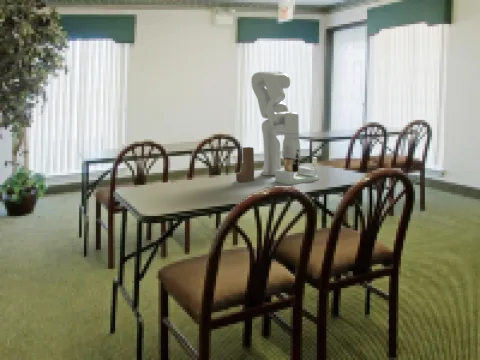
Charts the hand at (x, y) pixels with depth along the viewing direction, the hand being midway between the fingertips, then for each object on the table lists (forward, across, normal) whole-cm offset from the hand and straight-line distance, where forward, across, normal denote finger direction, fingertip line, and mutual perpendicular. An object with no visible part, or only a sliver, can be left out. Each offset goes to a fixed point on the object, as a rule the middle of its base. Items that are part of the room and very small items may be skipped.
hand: (291, 170), depth 258 cm
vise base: (+6, 0, +4) cm, 7 cm away
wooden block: (+6, -17, -18) cm, 26 cm away
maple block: (+1, 0, 0) cm, 1 cm away
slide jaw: (+4, 0, +13) cm, 13 cm away
